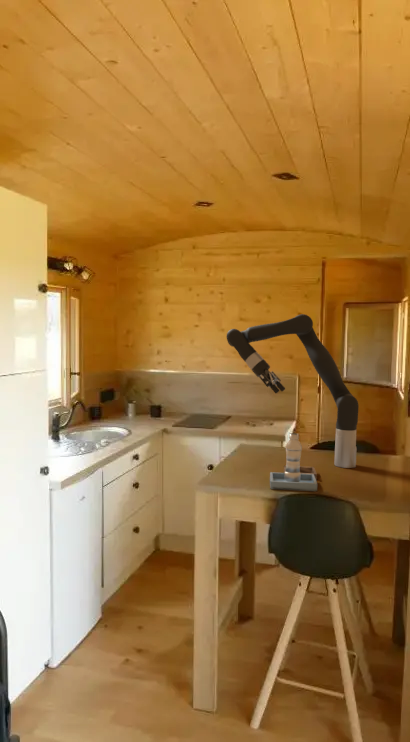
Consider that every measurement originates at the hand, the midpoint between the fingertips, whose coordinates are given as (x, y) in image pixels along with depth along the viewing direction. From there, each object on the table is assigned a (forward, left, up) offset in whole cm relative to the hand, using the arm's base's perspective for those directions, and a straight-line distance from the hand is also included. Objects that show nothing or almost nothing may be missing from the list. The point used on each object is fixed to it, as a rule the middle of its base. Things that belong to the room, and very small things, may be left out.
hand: (280, 391), depth 252 cm
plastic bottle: (-5, +27, -34) cm, 44 cm away
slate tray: (-5, +28, -35) cm, 45 cm away
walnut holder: (-9, +13, -35) cm, 38 cm away
